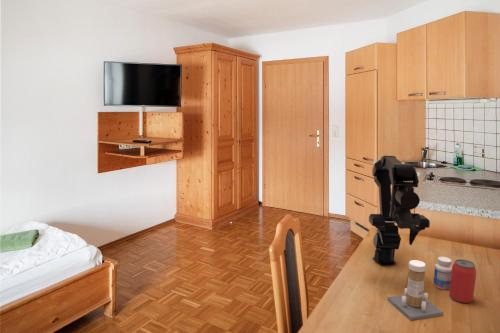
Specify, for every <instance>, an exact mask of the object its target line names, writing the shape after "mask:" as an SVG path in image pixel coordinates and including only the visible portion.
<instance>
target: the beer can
mask: <svg viewBox="0 0 500 333" xmlns="http://www.w3.org/2000/svg"><path fill="white" fill-rule="evenodd" d="M451 266H452V273H451V282H450V289H449V292H448V294H449V297H450V298H451V299H453V300H454V301H456V302H458V303H459V302H460V303H462V304H463V303H464V304H467V303H472V302H473V300H474V296H475V286H476V281H477V278H476V277H477V269H476V264H475V263H474V262H472V261H469V260H467V259H463V258H462V259H455V260H454V263H453V264H452V265H451Z"/></svg>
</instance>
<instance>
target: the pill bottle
mask: <svg viewBox="0 0 500 333" xmlns="http://www.w3.org/2000/svg"><path fill="white" fill-rule="evenodd" d="M434 264H435V265H434V272H433V285H434V287H436V288H438V289H440V290H450V282H451V273H452V266H453V265H452V259H451V258H449V257H447V256H438V257H437V263H434Z"/></svg>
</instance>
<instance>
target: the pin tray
mask: <svg viewBox="0 0 500 333" xmlns="http://www.w3.org/2000/svg"><path fill="white" fill-rule="evenodd" d="M406 300H407V287H405V288H404V294H400V295H395V296H394V295H393V296H388V297H387V301H388V302H389V303H390V304H391V305H392V306H394V307H395V308H396V309H397V310H398V311H399V312H400V313H402V315H403V316H405V317H406V318H407V319H408V320H409V321H417V320H422V319H427V318H434V317H441V316H444V311H443V310H441V309H440V308H439V307H437V306H436V305H434V304H433V303H432V302H431V301H429V293H428V292H423V296H422V305H421V307H412V306H410V305H409V304H407V302H406Z"/></svg>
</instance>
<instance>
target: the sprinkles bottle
mask: <svg viewBox="0 0 500 333" xmlns="http://www.w3.org/2000/svg"><path fill="white" fill-rule="evenodd" d="M426 267H427V265H426V263H425V262H424V261H422V260H417V259H413V260H409V262H408V270H409V271H408V278H407V286H406V288H407V300H406V302H407V304H409V305H410V306H412V307H421V305H422V296H423V297H424V287H425V274H426V273H425V272H426V269H427V268H426Z"/></svg>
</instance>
